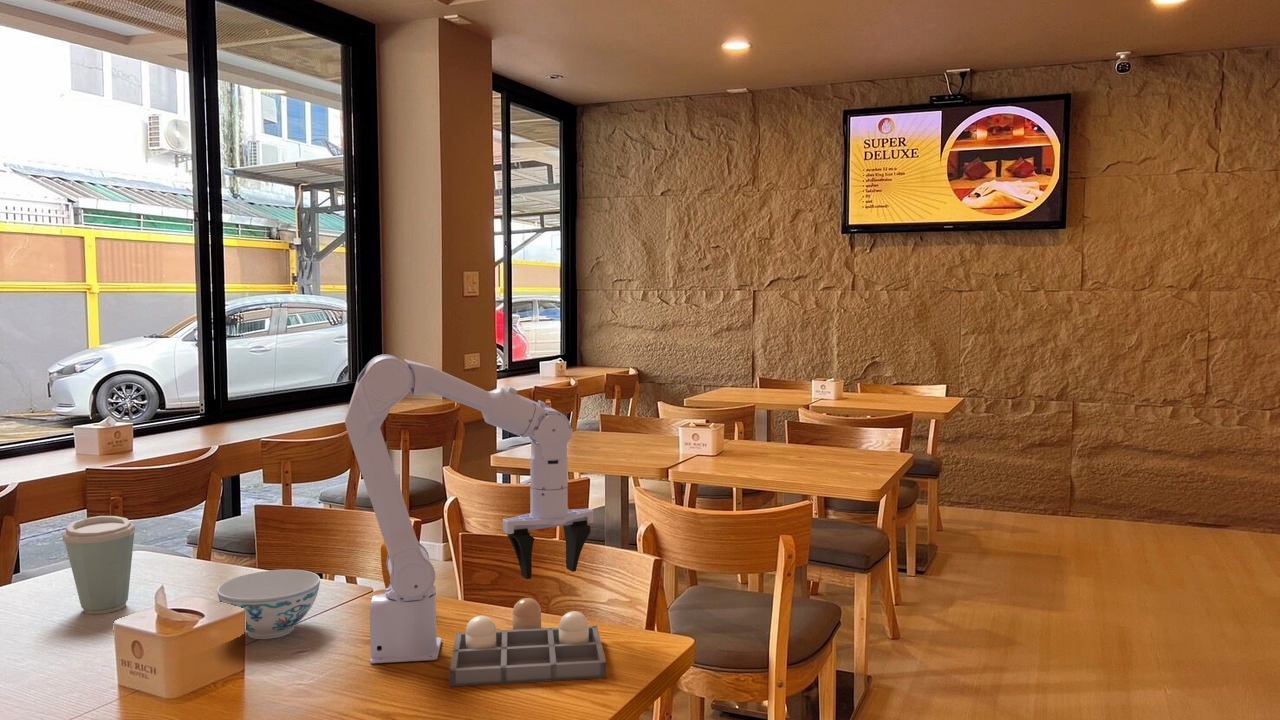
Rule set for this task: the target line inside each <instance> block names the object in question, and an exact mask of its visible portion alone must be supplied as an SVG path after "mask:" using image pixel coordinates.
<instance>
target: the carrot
mask: <svg viewBox="0 0 1280 720" xmlns="http://www.w3.org/2000/svg"><path fill="white" fill-rule="evenodd" d="M387 557H388V552H387V549H386V545H385V542H384V541H383V542H382V543H381V546H380V563H381V573H382V578H383V583H384V588H385V590H386V589H387V588H388V586H389V585H390V574H389V572H388V569H387Z"/></svg>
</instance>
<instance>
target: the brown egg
mask: <svg viewBox="0 0 1280 720" xmlns="http://www.w3.org/2000/svg"><path fill="white" fill-rule="evenodd" d="M539 628H542V610H541V605H540V604H539V602H538V601H537V600H536V599H534V598H531V597H524V598H521V599H519V600H518V601H517V602H516V603H515V604H514V606H513V608H512V630H519V629H539Z"/></svg>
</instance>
